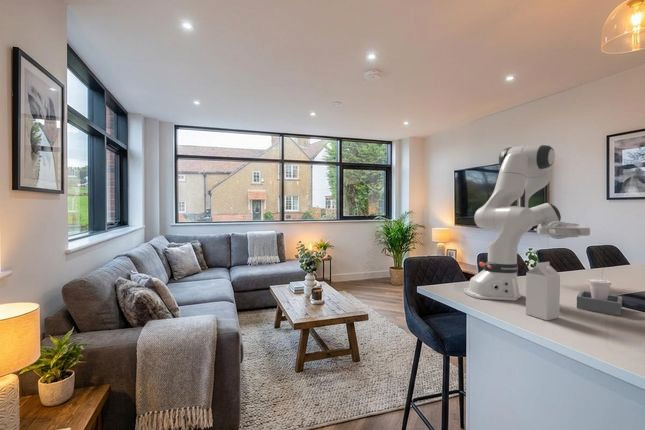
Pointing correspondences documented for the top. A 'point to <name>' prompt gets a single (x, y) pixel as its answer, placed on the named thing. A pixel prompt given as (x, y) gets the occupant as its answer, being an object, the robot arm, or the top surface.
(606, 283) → the smoothie
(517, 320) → the top surface
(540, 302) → the milk carton
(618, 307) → the bin
